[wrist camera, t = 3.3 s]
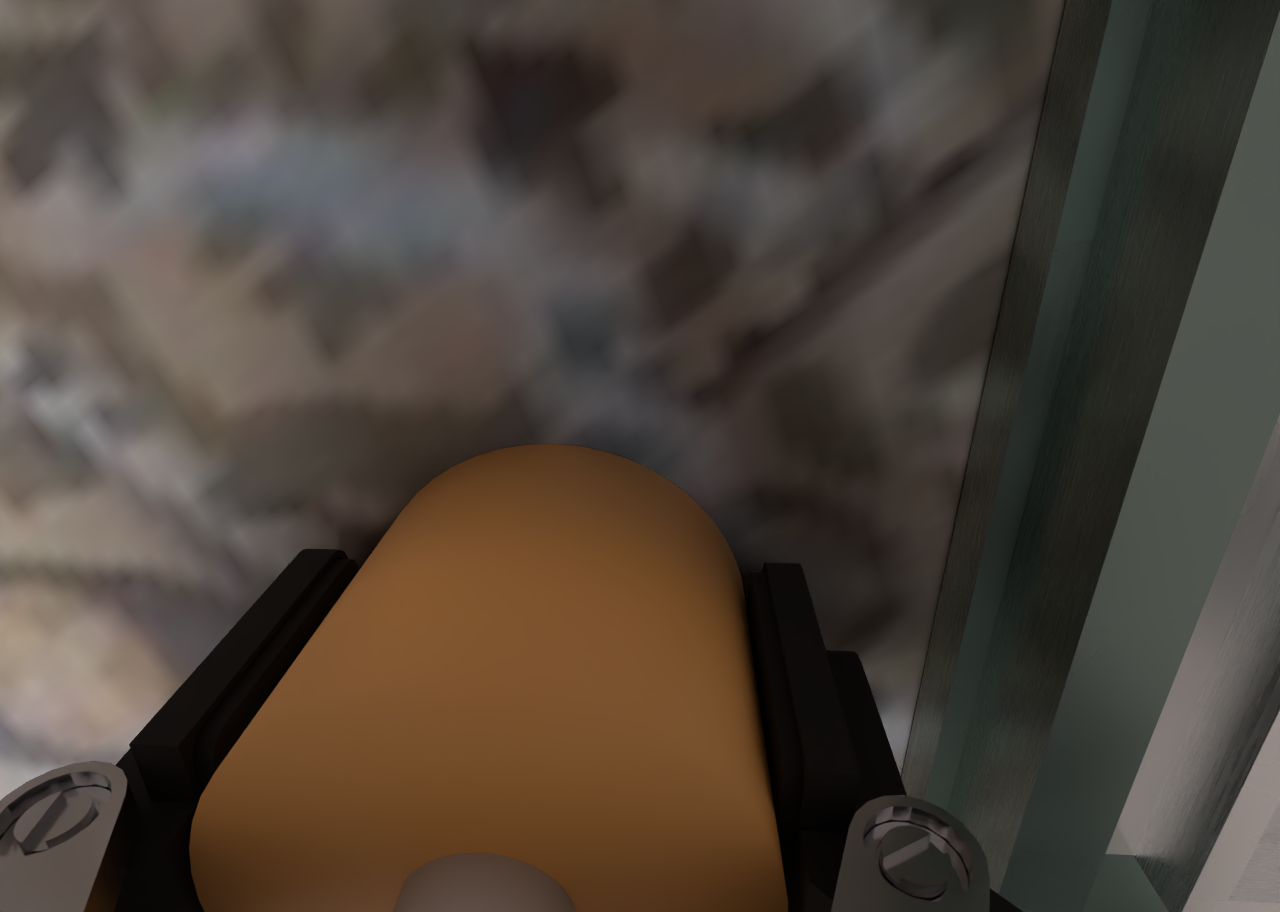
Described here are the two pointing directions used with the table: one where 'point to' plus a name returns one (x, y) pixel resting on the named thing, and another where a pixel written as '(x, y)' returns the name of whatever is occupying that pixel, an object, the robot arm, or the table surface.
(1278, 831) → the sliding bed
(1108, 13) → the press
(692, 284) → the table surface
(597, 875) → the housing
